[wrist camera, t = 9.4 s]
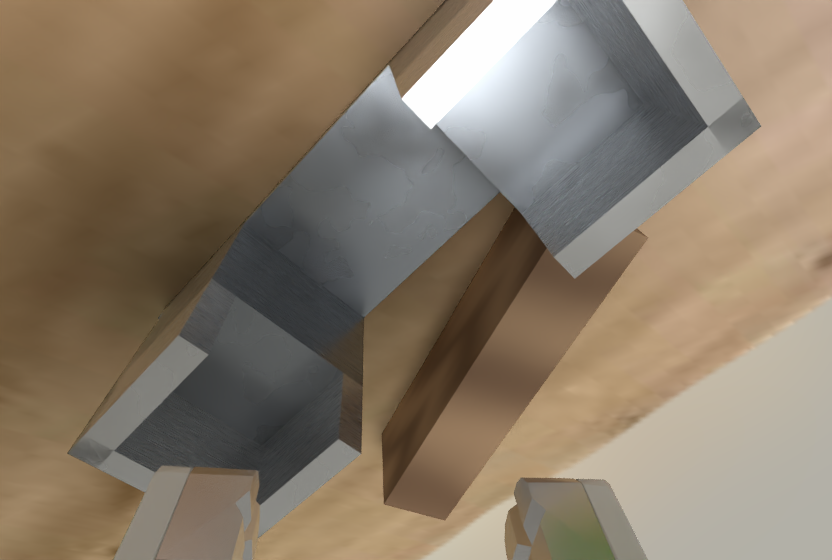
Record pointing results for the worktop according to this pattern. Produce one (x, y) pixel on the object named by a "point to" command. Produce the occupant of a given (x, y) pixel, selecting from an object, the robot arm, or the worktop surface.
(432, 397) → the rail
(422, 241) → the bracket stand
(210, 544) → the robot arm
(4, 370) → the worktop surface
